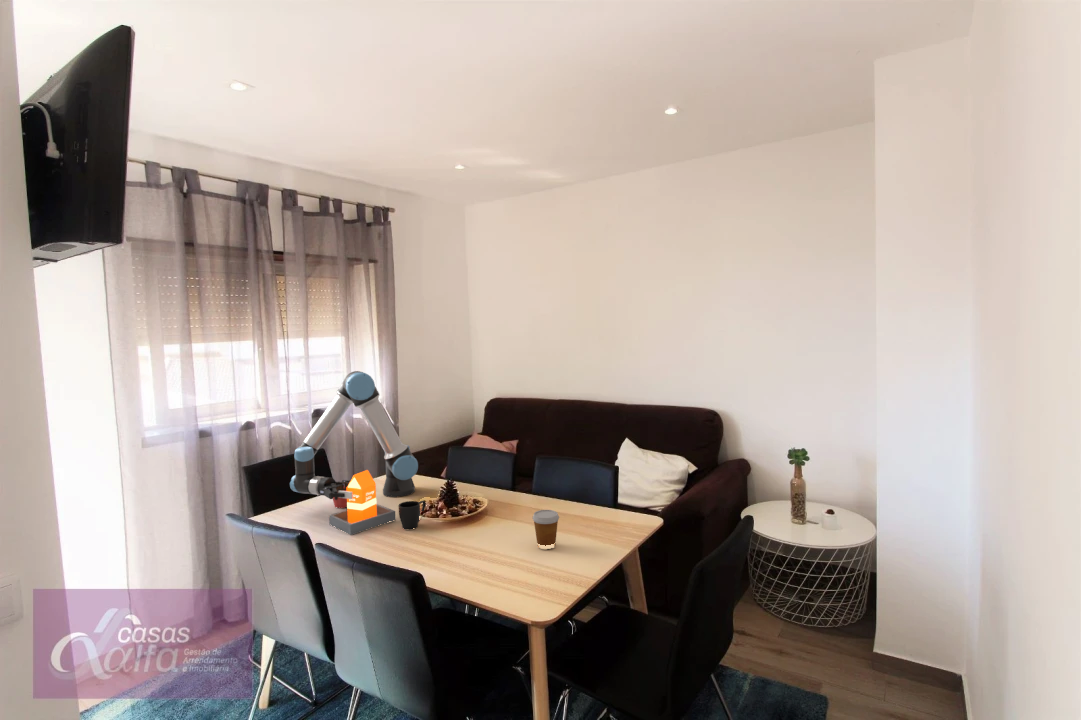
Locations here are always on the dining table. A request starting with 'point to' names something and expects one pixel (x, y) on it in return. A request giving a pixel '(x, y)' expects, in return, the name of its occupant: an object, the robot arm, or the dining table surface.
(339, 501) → the flower pot
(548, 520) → the disposable coffee cup
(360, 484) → the orange juice
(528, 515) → the dining table surface
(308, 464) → the robot arm
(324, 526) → the dining table surface
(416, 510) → the mug
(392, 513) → the tray
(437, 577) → the dining table surface
